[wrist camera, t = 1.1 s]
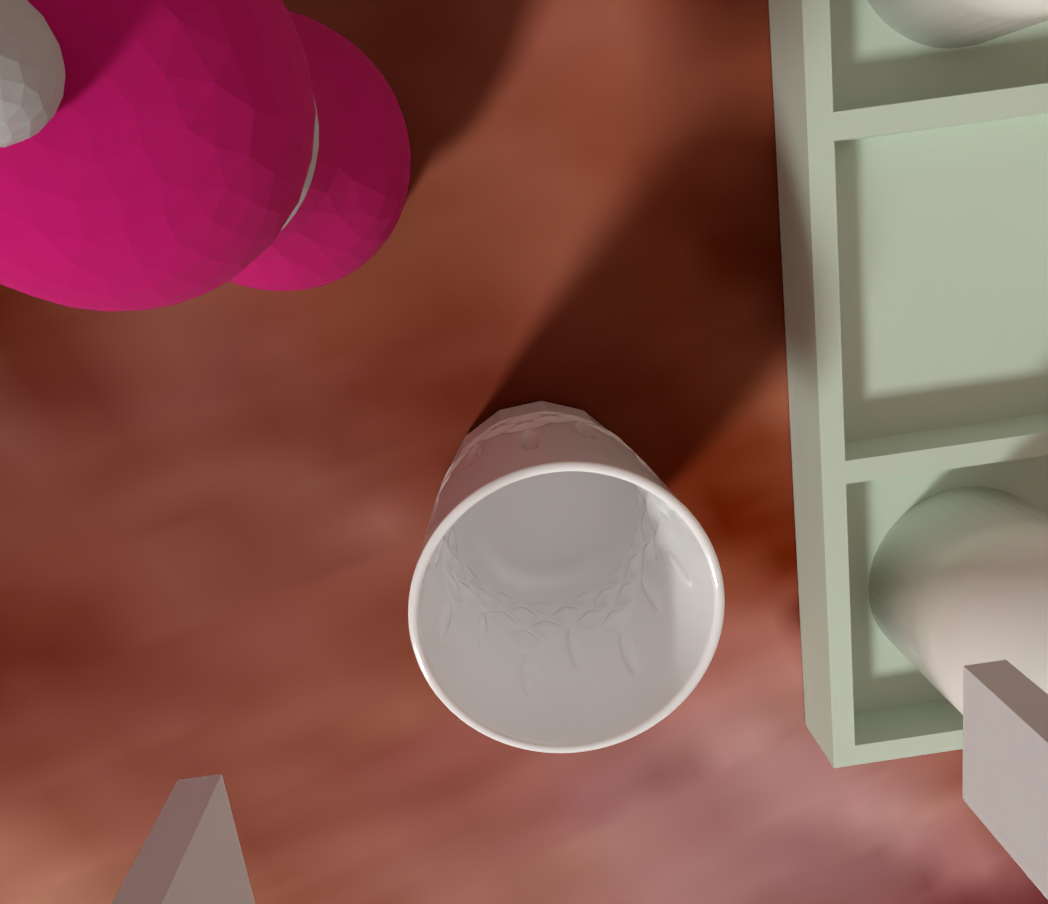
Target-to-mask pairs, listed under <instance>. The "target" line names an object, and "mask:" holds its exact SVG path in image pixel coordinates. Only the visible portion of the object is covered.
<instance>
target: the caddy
mask: <svg viewBox="0 0 1048 904" xmlns="http://www.w3.org/2000/svg"><path fill="white" fill-rule="evenodd" d="M768 1H769V21H770V40H771V60H772V79H773V99H774V118H775V138H776V157H777V177H778V197H779V216H780V236H781V255H782V275H783V294H784V314H785V333H786V353H787V372H788V392H789V412H790V431H791V451H792V470H793V490H794V509H795V529H796V548H797V568H798V587H799V607H800V627H801V646H802V666H803V685H804V705H805V724H806V726H807V728H808V729H809V731H810V732H811V734H812V735H813V737H814V738H815V740H816V741H817V743H818V744H819V746H820V748H821V749H822V751H823V752H824V754H825V755H826V757H827V758H828V760H829V761H830V763H831V764H832V766H833V767H834V768H838V767H844V766H851V765H858V764H864V763H871V762H878V761H884V760H891V759H898V758H905V757H911V756H918V755H925V754H931V753H938V752H945V751H951V750H958V749H963V715H962V714H961V713H960V712H959V711H958V710H957V709H956V708H955V707H954V706H953V705H952V704H951V703H950V702H949V701H948V700H947V699H946V698H945V697H944V696H943V695H942V694H941V693H940V692H939V691H938V690H937V689H936V687H935V686H934V685H933V684H932V683H931V682H930V681H929V680H928V679H927V678H926V677H925V676H924V675H923V674H922V673H921V672H920V671H919V670H918V669H917V668H916V667H915V666H914V665H913V664H912V663H911V662H910V661H909V660H908V659H907V658H906V657H905V656H904V655H903V654H902V653H901V652H900V651H899V650H898V649H897V648H896V647H895V646H894V645H893V644H892V643H891V642H890V641H889V640H888V639H887V637H886V636H885V635H884V634H883V633H882V632H881V630H880V628H879V627H878V625H877V623H876V621H875V619H874V617H873V614H872V611H871V607H870V603H869V596H868V579H869V573H870V568H871V564H872V561H873V558H874V555H875V553H876V551H877V549H878V547H879V545H880V543H881V541H882V540H883V538H884V536H885V535H886V533H887V532H888V531H889V530H890V528H891V527H892V526H893V525H894V524H895V523H896V522H897V521H898V520H899V519H900V518H901V517H902V516H903V515H904V514H905V513H906V512H907V511H909V510H910V509H911V508H912V507H914V506H915V505H917V504H919V503H920V502H922V501H923V500H925V499H927V498H929V497H932V496H934V495H936V494H938V493H941V492H944V491H947V490H951V489H956V488H961V487H973V486H976V487H989V488H994V489H999V490H1002V491H1005V492H1008V493H1010V494H1012V495H1014V496H1016V497H1018V498H1020V499H1022V500H1024V501H1026V502H1028V503H1030V504H1032V505H1034V506H1036V507H1038V508H1040V509H1042V510H1044V511H1046V512H1048V20H1047V21H1044V22H1041V23H1039V24H1036V25H1033V26H1030V27H1027V28H1024V29H1021V30H1018V31H1016V32H1013V33H1010V34H1007V35H1004V36H1001V37H998V38H995V39H993V40H990V41H987V42H984V43H981V44H978V45H974V46H969V47H964V48H952V49H946V48H934V47H930V46H926V45H922V44H919V43H917V42H914V41H912V40H909V39H907V38H905V37H904V36H902V35H900V34H899V33H897V32H895V31H894V30H893V29H892V28H891V27H889V26H888V25H887V24H886V23H885V22H884V21H883V20H882V19H881V18H880V17H879V16H878V15H877V14H876V13H875V11H874V10H873V8H872V7H871V5H870V4H869V2H868V1H867V0H768Z"/></svg>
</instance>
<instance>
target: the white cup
mask: <svg viewBox="0 0 1048 904" xmlns="http://www.w3.org/2000/svg"><path fill="white" fill-rule="evenodd" d="M724 602H725V600H724V585H723V578H722V573H721V569H720V565H719V562H718V559H717V556H716V553H715V551H714V548H713V546H712V544H711V542H710V540H709V538H708V536H707V534H706V533H705V531H704V530H703V528H702V526H701V525H700V524H699V522H698V521H697V520H696V518H695V517H694V516H693V515H692V513H691V512H690V511H689V510H688V509H687V508H686V507H685V506H684V505H683V504H682V502H681V501H680V500H679V499H678V498H677V497H676V496H675V495H674V494H673V493H672V492H671V490H670V489H669V488H668V487H667V486H666V485H665V484H664V483H663V482H662V480H661V479H660V478H659V477H658V476H657V475H656V474H655V473H654V471H653V470H652V469H651V468H650V467H649V466H648V465H647V464H646V463H645V462H644V461H643V460H642V459H641V458H640V457H639V456H638V455H637V454H636V453H635V452H634V451H633V450H632V449H631V448H630V447H629V446H628V445H627V444H625V443H624V442H623V441H622V440H621V439H620V438H619V437H618V436H617V435H615V434H614V433H612V432H611V431H609V430H607V429H606V428H605V427H604V426H603V425H601V424H600V423H599V422H598V421H596V420H595V419H594V418H593V417H591V416H590V415H589V414H588V413H587V412H585V411H584V410H580V409H576V408H572V407H567V406H563V405H559V404H554V403H550V402H546V401H537V402H533V403H528V404H524V405H519V406H515V407H510V408H505V409H501V410H498V411H497V412H496V413H495V414H493V415H492V416H491V417H489V418H488V419H487V420H485V421H484V422H483V423H482V424H480V425H479V426H478V427H476V428H475V429H474V430H472V431H471V432H470V433H469V434H467V435H466V436H465V437H464V439H463V441H462V443H461V445H460V447H459V449H458V452H457V454H456V456H455V458H454V460H453V462H452V464H451V466H450V468H449V469H448V471H447V473H446V475H445V477H444V479H443V482H442V484H441V487H440V490H439V493H438V496H437V499H436V501H435V504H434V507H433V509H432V512H431V515H430V519H429V522H428V526H427V530H426V533H425V537H424V541H423V544H422V548H421V551H420V555H419V558H418V561H417V565H416V568H415V571H414V575H413V578H412V583H411V588H410V594H409V604H408V622H409V631H410V637H411V642H412V646H413V650H414V653H415V656H416V659H417V661H418V664H419V666H420V668H421V671H422V673H423V675H424V676H425V678H426V680H427V682H428V683H429V685H430V686H431V688H432V689H433V691H434V692H435V694H436V695H437V696H438V697H439V699H440V700H441V701H442V702H443V703H444V704H445V705H446V706H447V708H448V709H449V710H451V711H452V712H453V713H454V714H455V715H456V716H457V717H458V718H460V719H461V720H462V721H463V722H465V723H466V724H468V725H469V726H471V727H472V728H474V729H475V730H477V731H479V732H480V733H482V734H484V735H486V736H488V737H490V738H492V739H494V740H497V741H499V742H502V743H505V744H508V745H511V746H514V747H518V748H522V749H526V750H531V751H538V752H547V753H574V752H583V751H590V750H595V749H599V748H604V747H607V746H611V745H614V744H617V743H620V742H622V741H625V740H627V739H630V738H632V737H634V736H636V735H638V734H640V733H642V732H644V731H646V730H647V729H649V728H651V727H652V726H654V725H655V724H657V723H658V722H660V721H661V720H662V719H664V718H665V717H666V716H668V715H669V714H670V713H671V712H672V711H674V710H675V709H676V708H677V707H678V706H679V705H680V704H681V703H682V702H683V701H684V700H685V699H686V698H687V697H688V695H689V694H690V693H691V692H692V691H693V689H694V688H695V687H696V685H697V684H698V683H699V681H700V680H701V678H702V677H703V675H704V673H705V672H706V670H707V668H708V666H709V664H710V662H711V660H712V658H713V655H714V653H715V650H716V648H717V645H718V642H719V638H720V634H721V630H722V625H723V618H724Z"/></svg>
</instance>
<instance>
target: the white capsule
mask: <svg viewBox="0 0 1048 904" xmlns="http://www.w3.org/2000/svg"><path fill="white" fill-rule="evenodd" d="M868 596H869V603H870V607H871V611H872V614H873V617H874V619H875V621H876V623H877V625H878V627H879V628H880V630H881V632H882V633H883V634H884V635H885V636H886V637H887V639H888V640H889V641H890V642H891V643H892V644H893V645H894V646H895V647H896V648H897V649H898V650H899V651H900V652H901V653H902V654H903V655H904V656H905V657H906V658H907V659H908V660H909V661H910V662H911V663H912V664H913V665H914V666H915V667H916V668H917V669H918V670H919V671H920V672H921V673H922V674H923V675H924V676H925V677H926V678H927V679H928V680H929V681H930V682H931V683H932V684H933V685H934V686H935V687H936V689H937V690H938V691H939V692H940V693H941V694H942V695H943V696H944V697H945V698H946V699H947V700H948V701H949V702H950V703H951V704H952V705H953V706H954V707H955V708H956V709H957V710H958V711H959V712H960V713H961V714H962V715H963V666H966V665H972V664H979V663H986V662H993V661H1000V660H1007V661H1008V662H1009V663H1011V664H1012V665H1013V666H1014V667H1015V668H1017V669H1018V670H1019V671H1020V672H1022V673H1023V674H1024V675H1025V676H1026V677H1028V678H1029V679H1030V680H1031V681H1032V682H1034V683H1035V684H1036V685H1037V686H1038V687H1040V688H1041V689H1042V690H1043V691H1044V692H1046V693H1047V694H1048V512H1046V511H1044V510H1042V509H1040V508H1038V507H1036V506H1034V505H1032V504H1030V503H1028V502H1026V501H1024V500H1022V499H1020V498H1018V497H1016V496H1014V495H1012V494H1010V493H1008V492H1005V491H1002V490H999V489H994V488H989V487H976V486H973V487H961V488H956V489H951V490H947V491H944V492H941V493H938V494H936V495H934V496H932V497H929V498H927V499H925V500H923V501H922V502H920V503H919V504H917V505H915V506H914V507H912V508H911V509H910V510H909V511H907V512H906V513H905V514H904V515H903V516H902V517H901V518H900V519H899V520H898V521H897V522H896V523H895V524H894V525H893V526H892V527H891V528H890V530H889V531H888V532H887V533H886V535H885V536H884V538H883V540H882V541H881V543H880V545H879V547H878V549H877V551H876V553H875V555H874V558H873V561H872V564H871V568H870V573H869V579H868Z"/></svg>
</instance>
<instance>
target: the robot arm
mask: <svg viewBox="0 0 1048 904" xmlns="http://www.w3.org/2000/svg"><path fill="white" fill-rule="evenodd" d="M963 800H964V801H965V802H966V803H967V805H968V806H969V807H970V808H971V809H972V810H973V812H974V813H975V814H976V815H977V816H978V818H979V819H980V820H981V821H982V822H983V824H984V825H985V826H986V827H987V828H988V830H989V831H990V832H991V833H992V834H993V835H994V837H995V838H996V839H997V840H998V841H999V843H1000V844H1001V845H1002V846H1003V847H1004V849H1005V850H1006V851H1007V852H1008V853H1009V854H1010V856H1011V857H1012V858H1013V859H1014V860H1015V862H1016V863H1017V864H1018V865H1019V866H1020V868H1021V869H1022V870H1023V871H1024V872H1025V873H1026V875H1027V876H1028V877H1029V878H1030V879H1031V881H1032V882H1033V883H1034V884H1035V885H1036V887H1037V888H1038V889H1039V890H1040V891H1041V892H1042V894H1043V895H1044V896H1045V897H1046V898H1047V900H1048V694H1047V693H1046V692H1044V691H1043V690H1042V689H1041V688H1040V687H1038V686H1037V685H1036V684H1035V683H1034V682H1032V681H1031V680H1030V679H1029V678H1028V677H1026V676H1025V675H1024V674H1023V673H1022V672H1020V671H1019V670H1018V669H1017V668H1015V667H1014V666H1013V665H1012V664H1011V663H1009V662H1008V661H1007V660H1000V661H993V662H986V663H979V664H972V665H966V666H963ZM112 904H255V901H254V897H253V893H252V889H251V886H250V882H249V878H248V874H247V870H246V866H245V862H244V858H243V855H242V851H241V847H240V843H239V839H238V835H237V831H236V827H235V823H234V820H233V816H232V812H231V808H230V804H229V800H228V796H227V792H226V789H225V785H224V781H223V777H222V774H217V775H210V776H203V777H196V778H189V779H182V780H178V781H177V782H176V784H175V786H174V788H173V790H172V792H171V794H170V796H169V797H168V799H167V801H166V803H165V805H164V807H163V809H162V811H161V812H160V814H159V816H158V818H157V820H156V822H155V824H154V826H153V827H152V829H151V831H150V833H149V835H148V837H147V839H146V841H145V842H144V844H143V846H142V848H141V850H140V852H139V854H138V855H137V857H136V859H135V861H134V863H133V865H132V867H131V869H130V870H129V872H128V874H127V876H126V878H125V880H124V882H123V884H122V885H121V887H120V889H119V891H118V893H117V895H116V897H115V899H114V900H113V902H112Z"/></svg>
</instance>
